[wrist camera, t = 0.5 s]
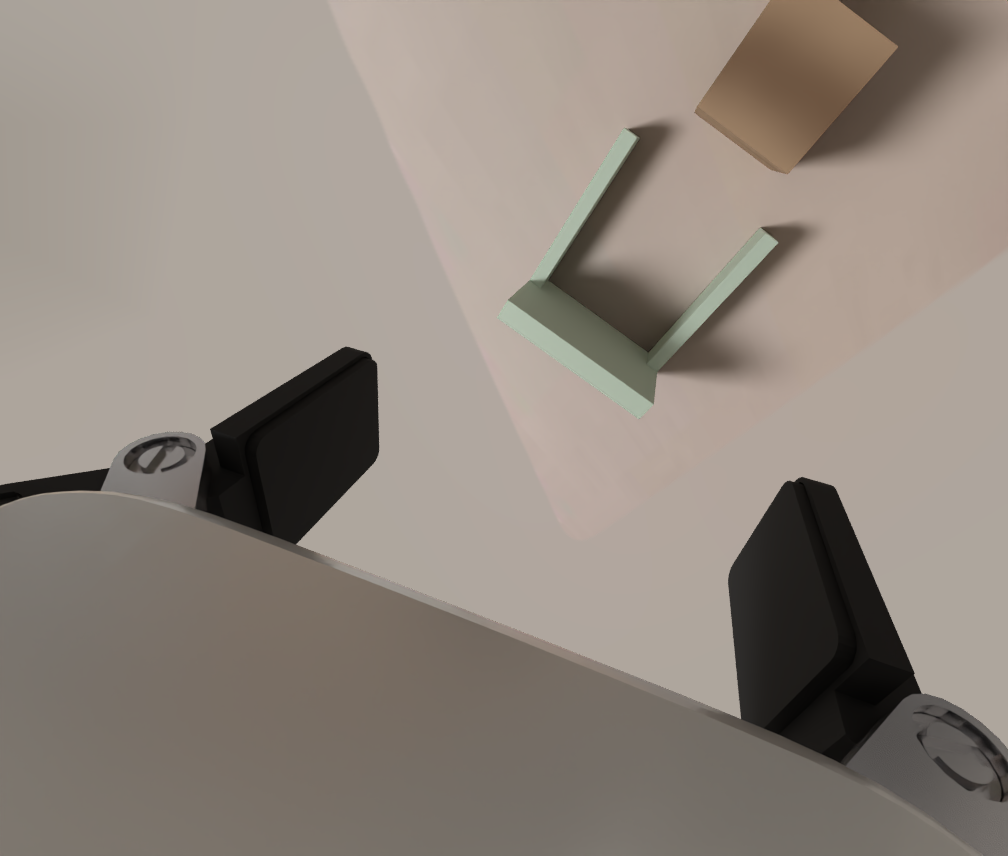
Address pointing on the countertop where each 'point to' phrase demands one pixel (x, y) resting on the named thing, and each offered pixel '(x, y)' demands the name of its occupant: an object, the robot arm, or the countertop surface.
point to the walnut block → (793, 78)
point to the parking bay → (591, 339)
